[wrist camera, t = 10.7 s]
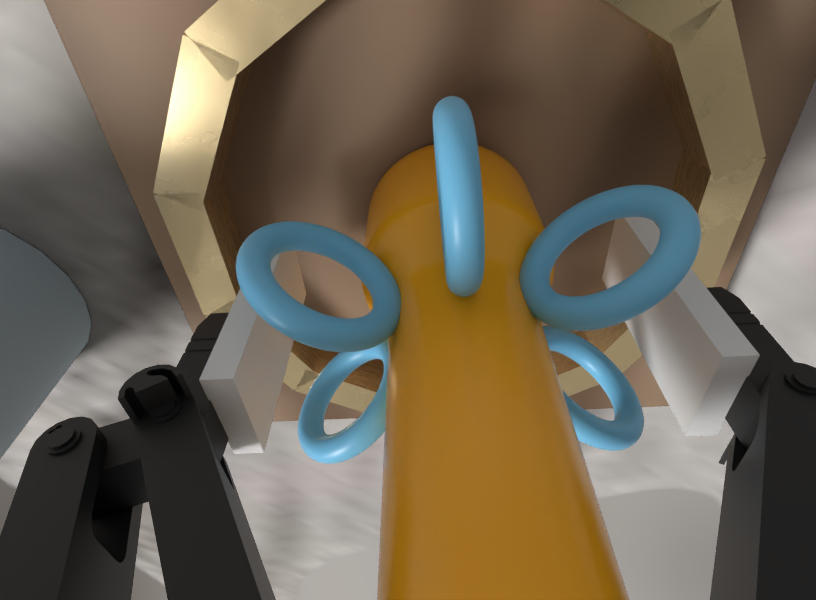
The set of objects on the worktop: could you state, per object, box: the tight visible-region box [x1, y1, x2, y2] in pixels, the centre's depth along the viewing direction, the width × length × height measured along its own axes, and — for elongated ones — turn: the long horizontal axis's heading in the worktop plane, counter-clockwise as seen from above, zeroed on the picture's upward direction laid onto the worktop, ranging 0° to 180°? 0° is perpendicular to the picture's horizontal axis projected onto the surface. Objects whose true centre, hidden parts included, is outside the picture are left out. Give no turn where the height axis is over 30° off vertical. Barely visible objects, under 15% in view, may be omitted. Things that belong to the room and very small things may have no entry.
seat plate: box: [44, 0, 816, 421], centre depth 19 cm, size 23×23×1 cm
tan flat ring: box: [153, 0, 766, 412], centre depth 18 cm, size 19×19×2 cm
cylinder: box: [236, 96, 701, 600], centre depth 12 cm, size 12×10×15 cm
